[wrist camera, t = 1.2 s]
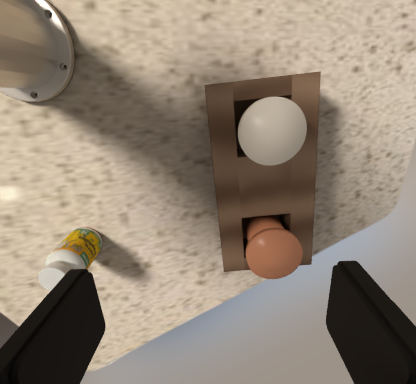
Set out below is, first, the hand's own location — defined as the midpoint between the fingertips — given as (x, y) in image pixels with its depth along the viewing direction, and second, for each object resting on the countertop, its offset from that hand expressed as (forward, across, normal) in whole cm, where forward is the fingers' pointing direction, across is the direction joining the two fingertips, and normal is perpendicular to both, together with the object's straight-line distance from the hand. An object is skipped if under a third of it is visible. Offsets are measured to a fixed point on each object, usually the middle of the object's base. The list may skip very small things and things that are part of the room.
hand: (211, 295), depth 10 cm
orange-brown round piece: (+23, -6, +10) cm, 26 cm away
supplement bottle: (+28, +22, +13) cm, 38 cm away
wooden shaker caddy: (+28, -6, +3) cm, 29 cm away
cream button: (+22, -6, -4) cm, 23 cm away
